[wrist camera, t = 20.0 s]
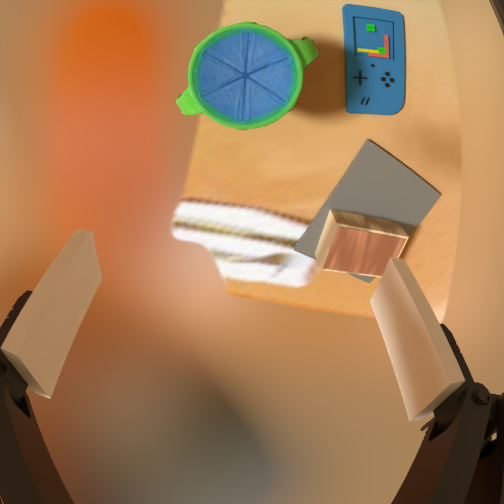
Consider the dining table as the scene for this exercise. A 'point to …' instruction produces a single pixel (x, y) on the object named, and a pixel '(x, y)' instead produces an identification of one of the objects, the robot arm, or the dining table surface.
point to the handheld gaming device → (374, 60)
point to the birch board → (358, 244)
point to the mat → (374, 196)
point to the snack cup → (246, 75)
